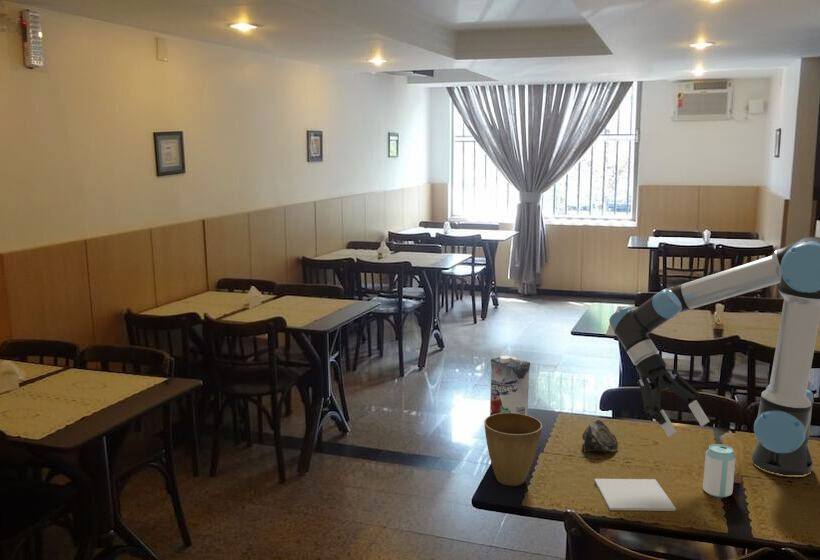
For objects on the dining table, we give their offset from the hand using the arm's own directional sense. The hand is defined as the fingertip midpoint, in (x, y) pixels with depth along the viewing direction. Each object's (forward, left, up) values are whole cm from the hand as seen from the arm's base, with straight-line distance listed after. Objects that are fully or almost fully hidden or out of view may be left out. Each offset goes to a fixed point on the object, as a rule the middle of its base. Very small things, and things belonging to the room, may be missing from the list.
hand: (689, 429), depth 199 cm
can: (-6, +8, -14) cm, 17 cm away
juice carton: (+44, -22, -14) cm, 52 cm away
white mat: (+16, +10, -14) cm, 24 cm away
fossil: (+18, -19, -14) cm, 30 cm away
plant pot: (+46, +2, -14) cm, 49 cm away
